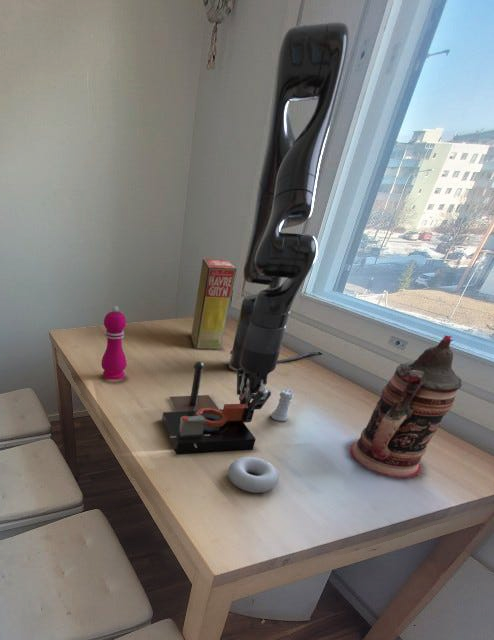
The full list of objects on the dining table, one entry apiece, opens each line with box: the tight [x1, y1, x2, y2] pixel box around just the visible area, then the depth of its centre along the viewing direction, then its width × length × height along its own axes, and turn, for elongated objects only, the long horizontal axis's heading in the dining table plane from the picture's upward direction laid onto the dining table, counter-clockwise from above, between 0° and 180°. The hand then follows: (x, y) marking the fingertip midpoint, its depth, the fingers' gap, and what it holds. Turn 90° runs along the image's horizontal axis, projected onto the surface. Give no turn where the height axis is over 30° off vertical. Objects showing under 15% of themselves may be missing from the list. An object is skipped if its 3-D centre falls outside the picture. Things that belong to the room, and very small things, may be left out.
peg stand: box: [169, 360, 220, 412], centre depth 105 cm, size 11×10×12 cm
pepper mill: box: [100, 305, 128, 381], centre depth 115 cm, size 7×7×20 cm
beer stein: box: [349, 335, 463, 480], centre depth 85 cm, size 17×28×18 cm
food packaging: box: [190, 258, 237, 350], centre depth 138 cm, size 13×9×25 cm
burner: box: [194, 414, 230, 433], centre depth 97 cm, size 9×9×1 cm
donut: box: [227, 456, 280, 494], centre depth 84 cm, size 10×4×10 cm
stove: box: [161, 409, 257, 456], centre depth 96 cm, size 19×16×3 cm
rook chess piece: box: [270, 389, 295, 422], centre depth 102 cm, size 4×4×8 cm
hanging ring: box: [195, 403, 245, 427], centre depth 96 cm, size 13×7×3 cm, turn 99°
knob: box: [178, 416, 205, 439], centre depth 90 cm, size 5×2×5 cm, turn 99°
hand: (243, 418), depth 98 cm, fingers closed on hanging ring, 2 cm apart
